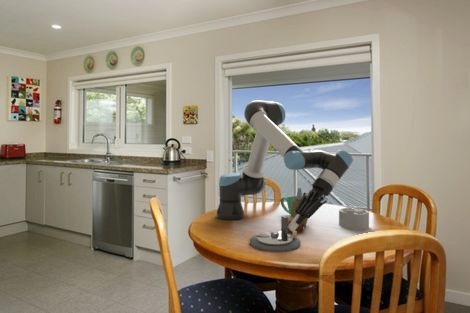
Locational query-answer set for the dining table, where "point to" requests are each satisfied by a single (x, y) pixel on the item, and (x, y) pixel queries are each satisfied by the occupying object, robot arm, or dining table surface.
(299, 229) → the bread roll
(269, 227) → the dining table surface
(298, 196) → the squeeze bottle
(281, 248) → the base pad
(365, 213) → the lumpy-topped squat cylinder
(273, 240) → the flange plate
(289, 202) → the mug
